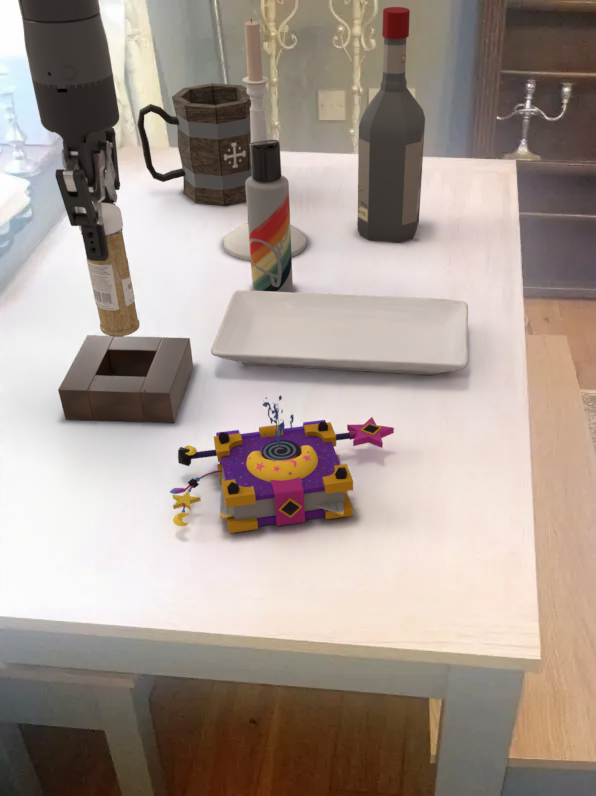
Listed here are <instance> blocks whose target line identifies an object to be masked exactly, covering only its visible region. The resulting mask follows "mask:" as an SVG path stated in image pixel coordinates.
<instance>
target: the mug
mask: <svg viewBox="0 0 596 796" xmlns="http://www.w3.org/2000/svg"><path fill="white" fill-rule="evenodd" d="M246 90H247V87H245V86H243V85H242V84H230V83H229V84H227V83H216V82H215V83H214V82H212V83H205V84H199V85H194V86H193V85H192V86H187V87H183V88H181V89H180V90H179V91H177V92H176V93H175V94H174V95H172V96H171V100H172V104H173V108H174V113H175V116H171V115H170V114H169V113H168V112H166V110H164V109H163V108H162V107H161V106H158V105H155V104H152V103H149V104H148V105H146V106H144V107H142V108H140V109H139V112H138V117H137V118H138V119H137V124H136V125H137V126H136V127H137V130H138V133H139V134H138V135H139V139H140V142H141V147H142V153H143V159H144V162H145V163H144V164H145V166H146V169H147V170H148V172H149V173H150V175H151V177H152V179H154V180H157V181H159V182H162V183H165V182H168V181H171V180H174V179H178V178H183V195H185V196H186V197H187V198H188V199H190V200H191V201H192V202H194V203H195V204H202V205H211V206H221V207H222V206H223V207H225V206H231V205H235V204H239V203H245V202H246V186H245V183H246V180H247V179H248V178H249V177H251V176H252V175H251V157H250V143H251V125H250V107H251V100H250V96H249V95H248V94H247V92H246ZM149 113H153V114H156V115H158V116H159V117H160V118H162V119H163V121H165V122H166V123H167V124H169V125H173V126H174V125H176V128H177V131H176V132H177V149H178V153H179V158H180V162H181V168H177V169H173V170H170V171H168V172H166V173H161V172H158V171H156V170H155V166H154V165H153V160H152V155H151V149H150V142H149V138H148V135H147V132H146V128H145V116H146V115H147V114H149Z"/></svg>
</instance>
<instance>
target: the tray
mask: <svg viewBox="0 0 596 796" xmlns="http://www.w3.org/2000/svg"><path fill="white" fill-rule="evenodd" d="M468 324H469V304H468V303H467V302H466V301H462V300H457V299H450V298H449V299H448V298H433V297H416V296H415V297H412V296H391V295H388V296H387V295H366V294H365V295H364V294H363V295H361V294H340V293H339V294H337V293H336V294H335V293H314V292H272V291H253V289H252V290H249V289H238V290H235V291H234V292H233V293H232V294H231V297H230V299H229V302H228V305H227V307H226V309H225V313H224V315H223V318H222V321H221V323H220V326H219V328H218V330H217V333H216V335H215V338H214V340H213V343H212V346H211V349H210V354H211V355H212V356H214V357H216V358H220V359H224V360H228V361H233V362H240V363H242V365H245V366H246V365H247V366H261V367H263V366H264V367H278V368H279V367H280V368H281V367H282V368H302V369H318V370H319V369H323V370H339V371H340V370H341V371H358V372H374V373H389V374H390V373H393V374H408V375H422V376H423V375H425V376H426V375H427V376H435V375H438V374H440V373H448V372H449V373H450V372H454V371H458V370H463V369H465V368H466V367H467V366H468V362H469V347H468V330H469V329H468V326H469V325H468Z"/></svg>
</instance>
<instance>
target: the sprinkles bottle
mask: <svg viewBox="0 0 596 796" xmlns="http://www.w3.org/2000/svg"><path fill="white" fill-rule="evenodd" d="M114 204H115V203H114ZM114 204H110V203H101V207H102V217H103V225H104V230H105V235H106V241H107V246H108V252H109V256H108V258H107V260H106V261H91V260H89V259H88V258H87V257H86V263H87V268H88V273H89V279H90V283H91V288H92V294H93V298H94V302H95V305H96V308H97V313H98V319H99V329H100V332H102V333H103V334H104V335H105V336H115V337H122V336H129V335H130V336H131V335H132V334H133V333H136V332H137V331H138V330H139V329H140V325H141V323H140V319H139V317H138V312H137V308H136V301H135V300H136V298H135V293H134V287H133V282H132V276H131V271H130V265H129V264H130V263H129V259H128V257H127V251H126V245H125V239H124V234H123V228H124V222H123V216H122V211H121V209H120V207H119V206H118V205H116V204H115V205H114ZM83 212H86V210H85V208H83ZM78 229H79V232H80V234H81V235H82V231H81V226H78Z"/></svg>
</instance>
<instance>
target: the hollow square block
mask: <svg viewBox="0 0 596 796" xmlns="http://www.w3.org/2000/svg"><path fill="white" fill-rule="evenodd" d="M193 369H194V361H193V354H192V344H191V338H190V337H167V336H166V337H164V336H132V335H130V336H129V335H126V336H122V337H115V336H109V335H99V334H98V335H97V334H93V335H92V334H87V335H86V337H85V339H84V340H83V343H82V344H81V346H80V348H79V350H78V351H77V354H76V355H75V356H74V359H73V361H72V363H71V365H70V367H69V369H68V370H67V373H66V374H65V376H64V378H63V380H62V382H61V384H60V385H59V388H58V389H57V391H58V395H59V399H60V403H61V407H62V412H63V415H64V419H65V420H66V421H88V422H90V421H92V422H94V421H95V422H115V423H116V422H119V423H154V424H174V423H175V422H176V418H177V416H178V413H179V410H180V407H181V404H182V401H183V398H184V395H185V392H186V390H187V387H188V384H189V381H190V378H191V375H192V372H193Z"/></svg>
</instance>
